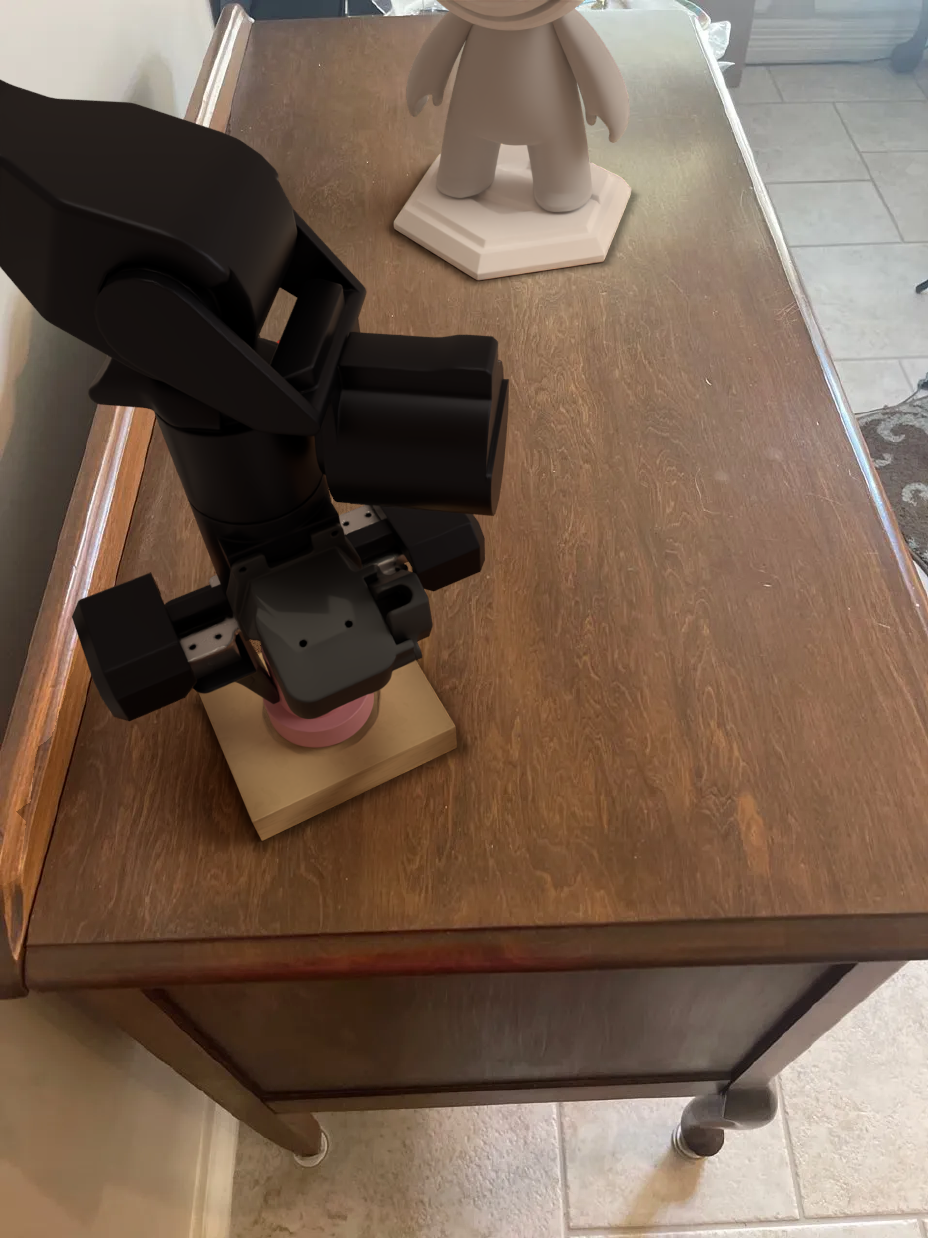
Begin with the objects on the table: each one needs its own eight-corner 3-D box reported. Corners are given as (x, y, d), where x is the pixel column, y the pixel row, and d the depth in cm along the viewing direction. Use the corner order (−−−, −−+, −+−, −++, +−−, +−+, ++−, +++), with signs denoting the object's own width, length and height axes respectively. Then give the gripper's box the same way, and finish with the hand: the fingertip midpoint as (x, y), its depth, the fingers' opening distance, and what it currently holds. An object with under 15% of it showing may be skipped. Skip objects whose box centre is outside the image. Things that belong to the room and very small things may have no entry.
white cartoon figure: (371, 263, 82) (306, -273, 54) (452, 140, 95) (433, -346, 67) (588, 299, 78) (640, -261, 50) (642, 165, 91) (708, -341, 63)
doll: (253, 683, 53) (211, 578, 45) (348, 642, 54) (324, 534, 47) (291, 765, 50) (253, 668, 42) (391, 719, 51) (372, 617, 44)
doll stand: (262, 841, 50) (252, 822, 48) (204, 703, 55) (193, 680, 53) (457, 748, 53) (455, 726, 51) (384, 625, 58) (380, 601, 56)
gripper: (75, 718, 31) (196, 885, 44) (551, 518, 36) (536, 720, 48) (8, 506, 37) (132, 707, 49) (424, 359, 42) (440, 576, 54)
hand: (314, 679), depth 50 cm, fingers closed on doll, 4 cm apart
